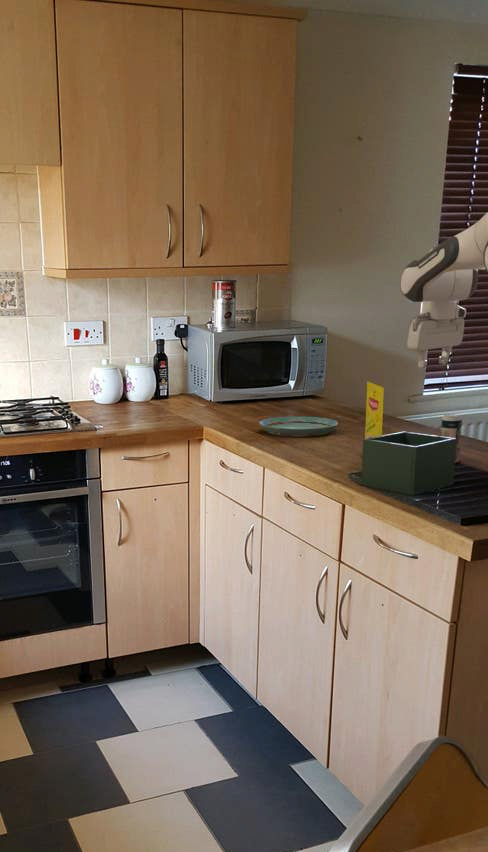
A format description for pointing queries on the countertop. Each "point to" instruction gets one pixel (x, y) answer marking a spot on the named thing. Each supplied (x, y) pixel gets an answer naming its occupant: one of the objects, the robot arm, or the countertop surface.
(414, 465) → the waste bin
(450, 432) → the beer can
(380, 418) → the food package
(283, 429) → the saucer
